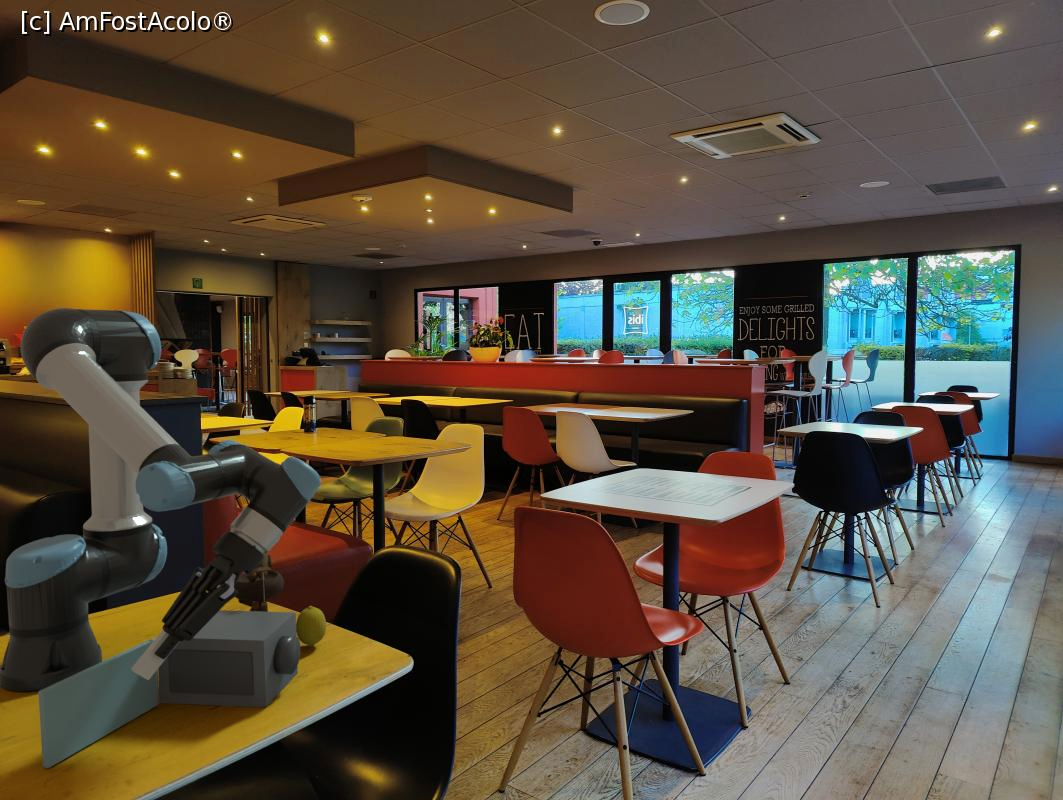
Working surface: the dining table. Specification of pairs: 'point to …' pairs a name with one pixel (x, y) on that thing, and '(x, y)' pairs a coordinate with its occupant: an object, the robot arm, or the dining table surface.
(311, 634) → the lemon
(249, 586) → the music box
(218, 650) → the case
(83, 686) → the side door
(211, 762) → the dining table surface
